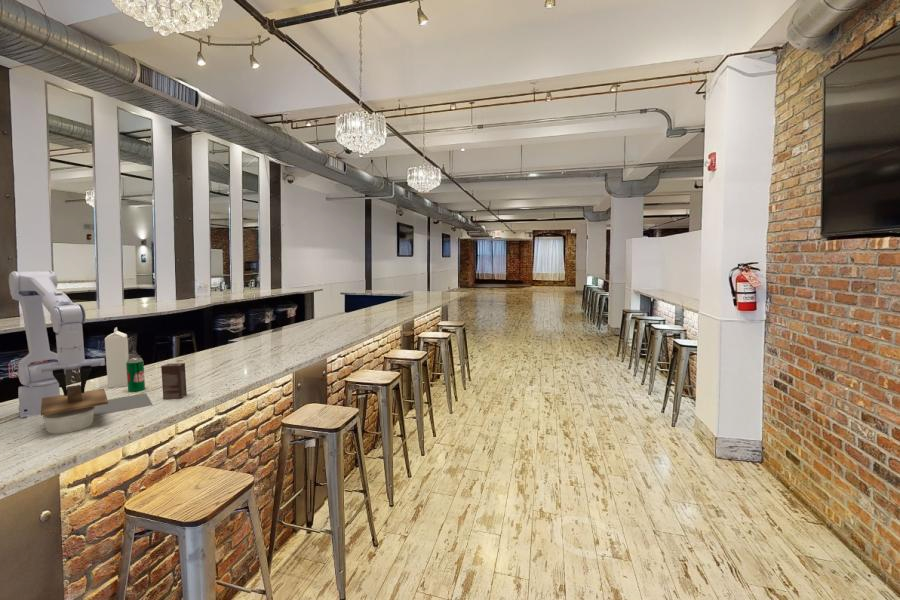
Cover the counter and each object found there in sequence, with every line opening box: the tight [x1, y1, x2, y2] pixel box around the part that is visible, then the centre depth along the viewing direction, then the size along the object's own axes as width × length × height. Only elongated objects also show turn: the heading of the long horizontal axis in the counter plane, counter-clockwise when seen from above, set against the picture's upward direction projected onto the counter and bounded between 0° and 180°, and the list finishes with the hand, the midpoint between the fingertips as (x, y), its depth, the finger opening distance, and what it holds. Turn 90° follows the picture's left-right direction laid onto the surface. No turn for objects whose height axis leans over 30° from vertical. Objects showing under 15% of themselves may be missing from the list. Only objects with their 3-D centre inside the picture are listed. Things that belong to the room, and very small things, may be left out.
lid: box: [40, 384, 109, 417], centre depth 123 cm, size 14×14×4 cm
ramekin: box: [42, 406, 95, 434], centre depth 122 cm, size 11×11×5 cm
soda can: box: [126, 357, 146, 393], centre depth 155 cm, size 5×5×12 cm
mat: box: [93, 393, 154, 417], centre depth 141 cm, size 16×16×1 cm
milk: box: [104, 326, 130, 389], centre depth 162 cm, size 6×6×22 cm
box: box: [160, 362, 188, 400], centre depth 148 cm, size 6×4×12 cm
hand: (74, 393), depth 123 cm, fingers closed on lid, 3 cm apart
